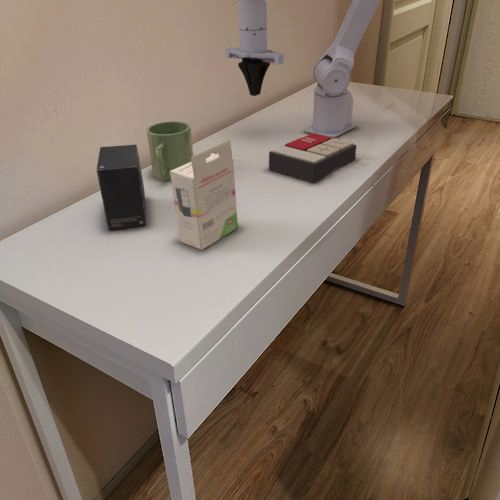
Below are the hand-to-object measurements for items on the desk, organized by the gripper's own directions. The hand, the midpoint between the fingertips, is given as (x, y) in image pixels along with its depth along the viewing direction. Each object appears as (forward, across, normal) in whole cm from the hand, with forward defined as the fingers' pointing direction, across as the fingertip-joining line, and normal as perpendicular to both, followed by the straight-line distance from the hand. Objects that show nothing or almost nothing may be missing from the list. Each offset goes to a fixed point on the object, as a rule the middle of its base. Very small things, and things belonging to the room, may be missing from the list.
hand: (255, 94), depth 111 cm
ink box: (+10, +23, -40) cm, 47 cm away
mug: (+9, +1, -27) cm, 29 cm away
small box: (+10, +7, -43) cm, 45 cm away
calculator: (+10, +20, -7) cm, 24 cm away
